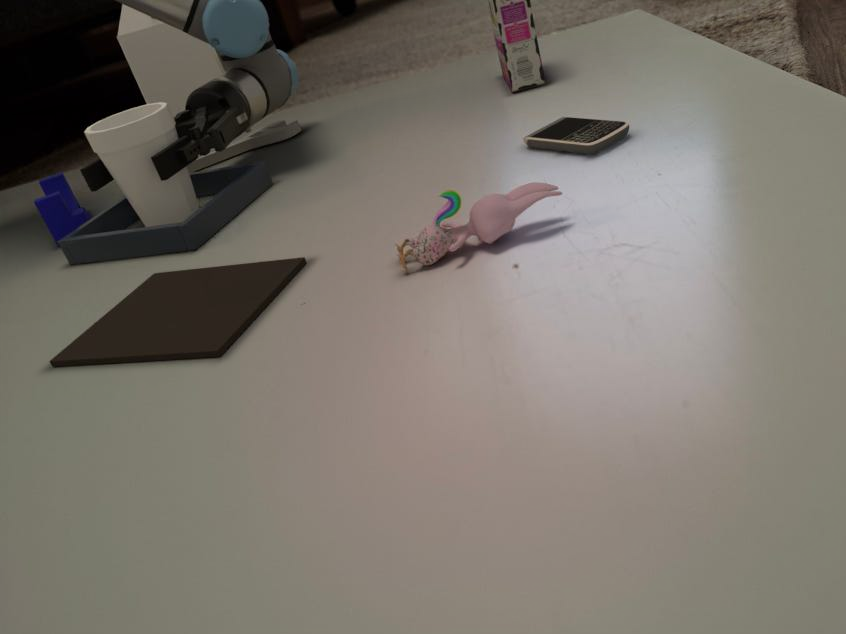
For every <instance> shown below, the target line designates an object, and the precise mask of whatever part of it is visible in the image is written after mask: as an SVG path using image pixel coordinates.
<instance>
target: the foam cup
mask: <svg viewBox="0 0 846 634" xmlns="http://www.w3.org/2000/svg"><path fill="white" fill-rule="evenodd" d="M175 124H176V122H175V120H174V118H173V116H172V113H171V111H170V109H169V106H168V104H167V103H164V102H158V103H151V104H147V103H146V104H143V105H139V106H137V107H136V106H135V107H132V108H129V109H125V110H123V111H121V112H118V113H117V112H116V113H115V114H112V115H110V116H107V117H105V118H102V119H101V120H98V121H96V122H95V123H92V124H91V125H90V126H89V125H88V126H87V128H86V129H85V130H84V131H83V133H84V136H85V138H86V139H87V141H88V143H89V145H90V147H91V149H92V152H93V153H95V154H97V156H98V158H100V159H101V160H102V162H103V163H104V165H105V166H106V168H107V169H108V171H109V172H110V174H111V175H112V177H113V178H114V180H113V181H114V182H115V183H116V185H117V186H118V187H119V189H120V190H121V192H122V193H123V196H126V198H127V199H128V201H129V202H130V204H131V205H132V207H133V208H134V210H135V211H136V213H137V214H138V216H139V217H140V218H139V219H140V220H141V222H142V223H143V225H144V227H149V226H157V225H165V224H172V223H180V222H183V221H184V220H186V219H187V218H188V217H189V216H191V215H192V214H193V213H194V212H196V211H197V210H198V209H199V208H200V205H199V202H198V197H196V195H195V191H194V188H193V185H192V181H191V178H190V175H189V171H188V168H187V166H186V167H185V168H183V169H182V170H180V171H179V172H178V173H176V174H175V175H173V176H172V177H170V178H169V179H168V180H164V181H161V179H160V177H159V175H158V172H157V170H156V168H155V166H154V164H153V162H152V160H151V157H152V156H154V155H155V154H157V153H158V152H160V151H162V150H163V149H165V148H166V147H168V146H169V145H171V144H172V143H174V142H175V141H177V140H178V139H179V138H178V135H177V131H176V128H175Z"/></svg>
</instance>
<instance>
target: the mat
mask: <svg viewBox="0 0 846 634" xmlns="http://www.w3.org/2000/svg"><path fill="white" fill-rule="evenodd" d="M306 264H307V260H306V257H305V256H301V257H295V258H293V257H292V258H284V259H275V260H266V261H256V262H247V263H237V264H230V265H227V264H226V265H218V266H211V267H209V266H208V267H200V268H193V269H192V268H191V269H182V270H181V269H180V270H172V271H164V272H154V273H153V274H151V275H150V276H149V277H148V278H146V279H145V280H144V281H143V282H142V283H140V284H139V285H138V286H137V287H136V288H134V289H133V290H132V291H131V292H130V293H129V294H128V295H126V296H125V297H124V298H122V300H121V301H119V302H118V303H117V304H115V305H114V307H112V308H111V309H110V310H109V311H108V312H106V313H105V314H103V316H102V317H100V318H99V319H98V320H97V321H95V322H94V323H93V324H92V325H90V327H88V328H87V329H86V330H85V331H84V332H83V333H81V334H80V335H79V336H78V337H76V338H75V339H73V341H72V342H71V343H70V344H68V345H67V346H66V347H64V348H63V349H62V350H61V351H60V352H58V353H57V354H56V355H55V356H54V357H52V358H51V359H50V360H49V364H50V365H51V366H52V368H53V367H55V368H56V367H69V366H70V367H71V366H72V367H73V366H87V365H88V366H89V365H101V364H102V365H103V364H104V365H105V364H121V363H122V364H123V363H136V362H153V361H154V362H155V361H169V360H172V361H173V360H186V359H202V358H204V359H205V358H220V357H222V355H224V354H225V352H226V351H227V350H228V349H229V348H230V347H231V346H232V344H233V343H234V342H235V341H236V340H238V338H239V337H240V336H241V335H242V334H243V333H244V332H245V330H246V329H247V328H248V327H249V326H250V325H251V324H252V323H253V322H254V321H255V320H256V318H258V316H259V315H260V314H261V313H262V312H263V311H264V310H265V308H267V307H268V305H269V304H270V303H271V302H272V301H273V300H274V299H275V298H276V296H278V295H279V293H281V291H282V290H283V289H284V288H285V287H286V286H287V285H288V284H289V283H290V282H291V280H292V279H293V278H294V277H295V276H296V275H297V274H298V273H299V272H300V270H302V269H303V267H304V266H306Z"/></svg>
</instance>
